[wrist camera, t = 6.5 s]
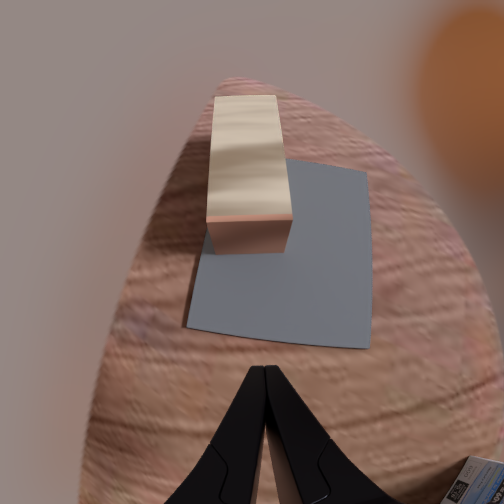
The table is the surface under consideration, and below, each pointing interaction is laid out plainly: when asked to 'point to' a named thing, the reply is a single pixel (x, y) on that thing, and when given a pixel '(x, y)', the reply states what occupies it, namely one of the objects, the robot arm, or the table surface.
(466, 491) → the light bulb box
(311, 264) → the slate mat
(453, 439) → the table surface
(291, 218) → the beech block
